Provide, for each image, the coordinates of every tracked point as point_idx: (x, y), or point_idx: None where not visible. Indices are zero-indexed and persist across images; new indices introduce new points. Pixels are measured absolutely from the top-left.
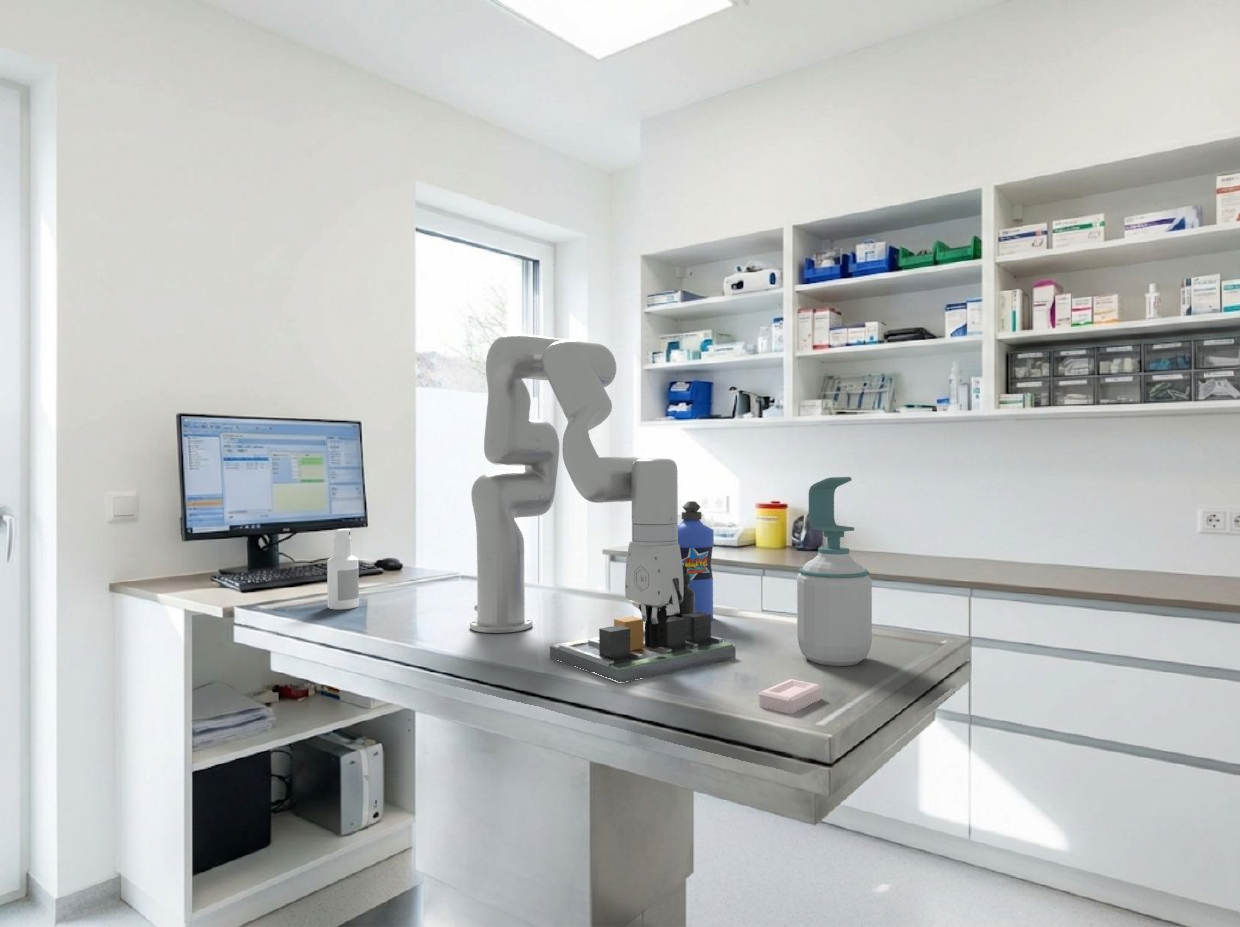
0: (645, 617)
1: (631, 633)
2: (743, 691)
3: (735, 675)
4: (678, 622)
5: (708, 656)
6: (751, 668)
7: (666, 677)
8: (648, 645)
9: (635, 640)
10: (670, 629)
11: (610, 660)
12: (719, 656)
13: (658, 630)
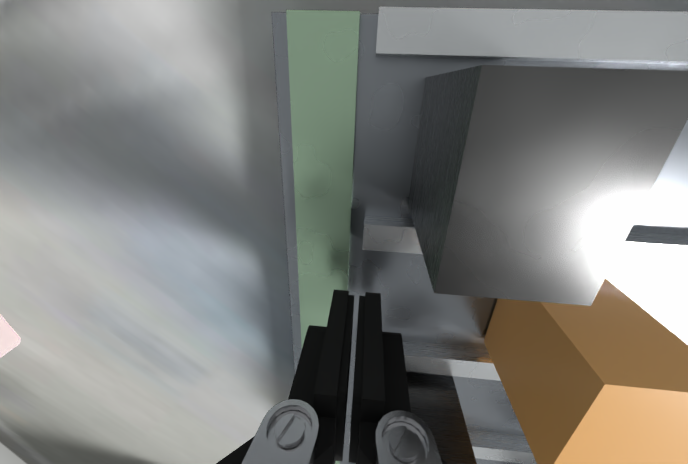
0: (401, 452)
1: (535, 352)
2: (50, 280)
3: (186, 358)
4: None
5: None
6: (219, 411)
7: (266, 230)
8: (359, 298)
9: (510, 340)
10: None
11: (392, 38)
12: None
13: (295, 379)
